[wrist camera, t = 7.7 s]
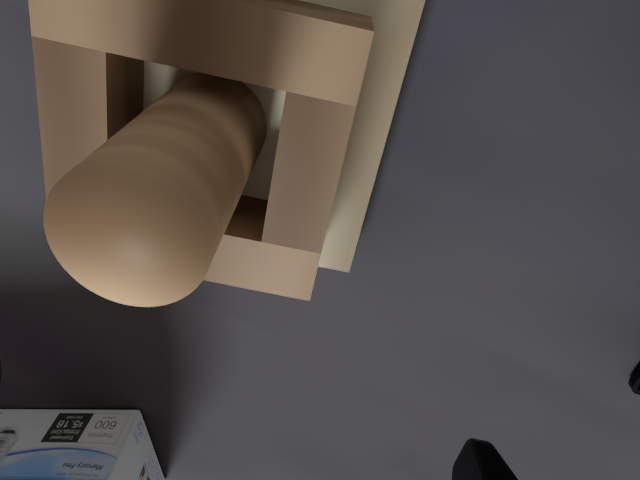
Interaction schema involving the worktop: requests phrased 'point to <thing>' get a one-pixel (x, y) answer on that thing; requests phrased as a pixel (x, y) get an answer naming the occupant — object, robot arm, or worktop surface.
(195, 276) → the peg
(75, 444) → the light bulb box
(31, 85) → the worktop surface
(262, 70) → the awning socket
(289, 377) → the worktop surface
